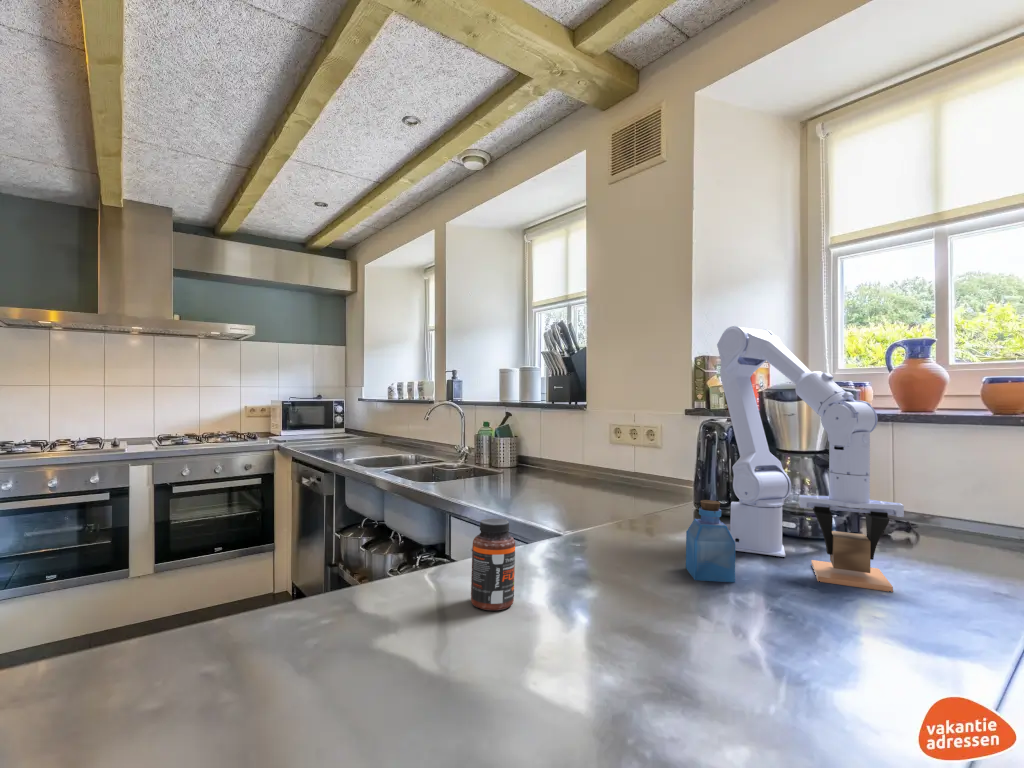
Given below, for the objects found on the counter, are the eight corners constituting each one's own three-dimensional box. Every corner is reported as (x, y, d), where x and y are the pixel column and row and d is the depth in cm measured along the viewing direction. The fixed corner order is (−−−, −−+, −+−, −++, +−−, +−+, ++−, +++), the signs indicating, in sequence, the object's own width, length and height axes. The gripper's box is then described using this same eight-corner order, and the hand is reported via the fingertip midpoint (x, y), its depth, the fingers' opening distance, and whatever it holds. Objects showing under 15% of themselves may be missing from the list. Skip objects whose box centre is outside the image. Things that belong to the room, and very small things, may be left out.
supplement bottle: (509, 614, 69) (511, 527, 69) (465, 610, 70) (467, 524, 70) (517, 598, 74) (519, 517, 75) (477, 594, 76) (479, 515, 76)
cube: (833, 568, 86) (833, 537, 86) (830, 559, 90) (830, 530, 90) (870, 573, 83) (870, 541, 84) (864, 564, 88) (864, 534, 88)
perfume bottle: (723, 570, 89) (723, 499, 90) (734, 582, 83) (735, 506, 84) (685, 568, 90) (686, 497, 90) (694, 580, 84) (695, 504, 84)
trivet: (817, 581, 85) (817, 576, 85) (811, 564, 94) (811, 559, 94) (892, 592, 80) (892, 586, 80) (878, 573, 89) (878, 568, 90)
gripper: (801, 472, 87) (801, 555, 87) (908, 479, 81) (909, 568, 80) (798, 468, 93) (798, 545, 93) (897, 474, 87) (897, 556, 87)
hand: (849, 555), depth 87 cm, fingers closed on cube, 5 cm apart
